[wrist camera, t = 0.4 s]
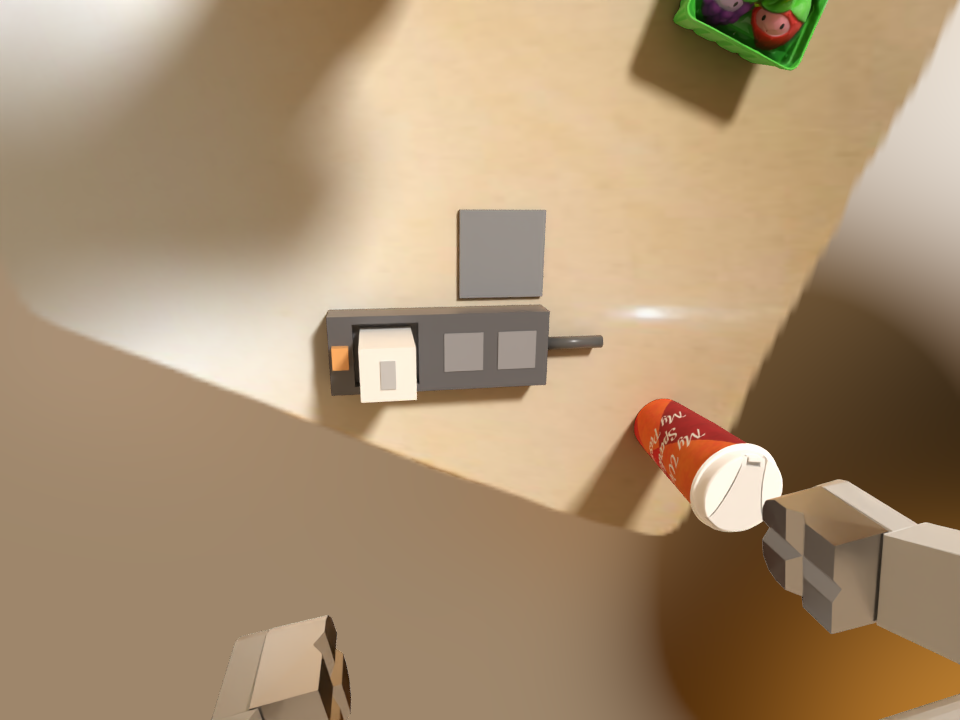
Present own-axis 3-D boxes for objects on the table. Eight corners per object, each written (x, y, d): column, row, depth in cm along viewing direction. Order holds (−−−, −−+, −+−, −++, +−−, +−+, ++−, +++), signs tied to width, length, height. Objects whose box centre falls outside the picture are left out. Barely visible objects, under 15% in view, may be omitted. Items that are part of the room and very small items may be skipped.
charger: (359, 327, 51) (358, 349, 45) (410, 326, 52) (415, 347, 45) (362, 375, 53) (361, 403, 46) (411, 372, 53) (417, 400, 47)
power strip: (328, 309, 52) (325, 319, 48) (598, 303, 56) (614, 311, 53) (333, 384, 54) (330, 398, 50) (593, 372, 58) (608, 384, 55)
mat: (459, 209, 51) (459, 209, 51) (544, 210, 53) (546, 210, 52) (459, 297, 54) (459, 298, 53) (540, 295, 55) (542, 296, 55)
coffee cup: (633, 385, 60) (714, 447, 46) (702, 391, 62) (801, 454, 48) (615, 457, 62) (687, 538, 48) (683, 461, 64) (771, 540, 50)
